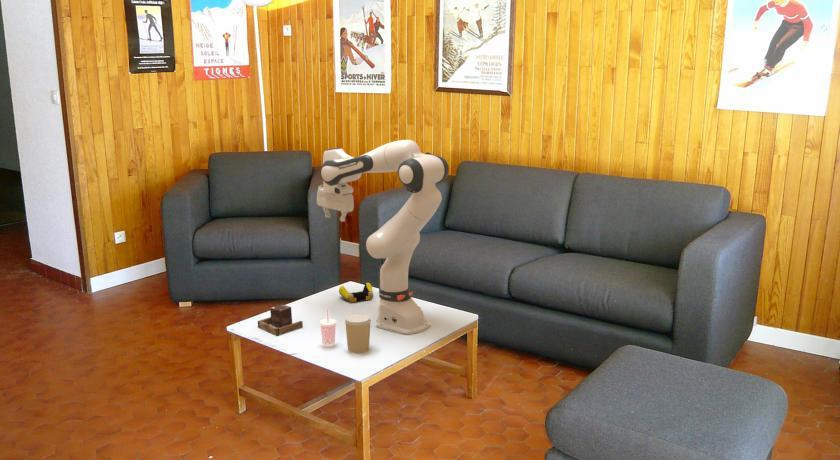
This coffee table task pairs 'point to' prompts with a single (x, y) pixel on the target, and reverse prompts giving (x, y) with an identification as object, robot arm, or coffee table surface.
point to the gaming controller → (357, 294)
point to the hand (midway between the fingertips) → (335, 219)
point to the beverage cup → (328, 331)
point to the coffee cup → (358, 332)
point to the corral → (266, 326)
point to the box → (281, 315)
